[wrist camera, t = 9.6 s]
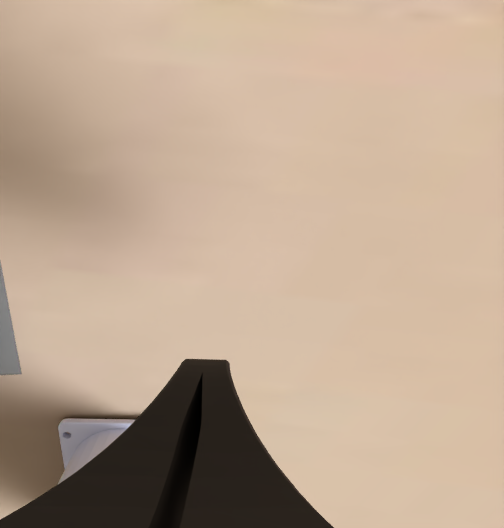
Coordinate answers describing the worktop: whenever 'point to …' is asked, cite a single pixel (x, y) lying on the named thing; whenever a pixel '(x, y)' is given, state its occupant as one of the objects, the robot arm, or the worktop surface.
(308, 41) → the worktop surface
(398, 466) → the worktop surface
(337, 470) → the worktop surface
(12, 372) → the mat
